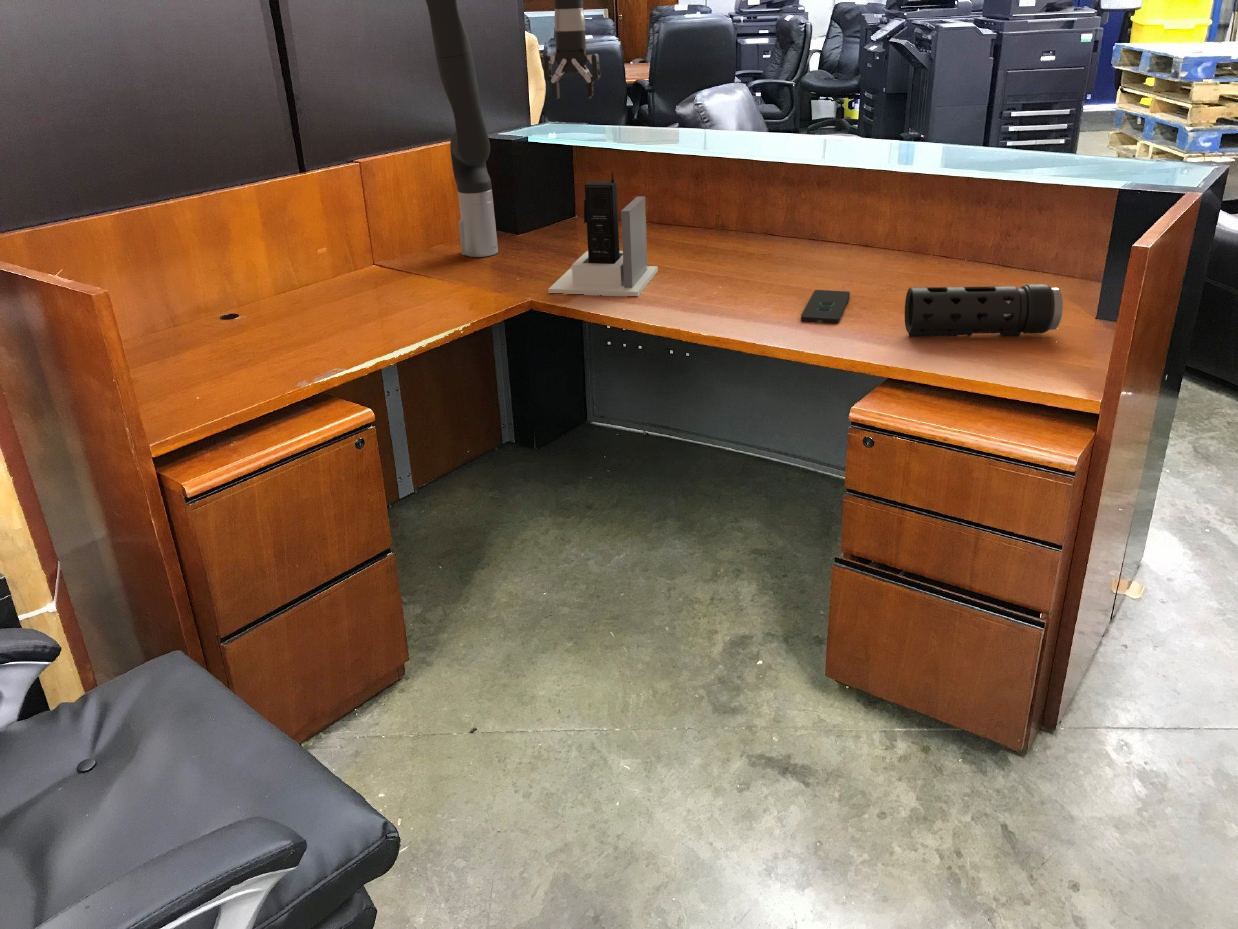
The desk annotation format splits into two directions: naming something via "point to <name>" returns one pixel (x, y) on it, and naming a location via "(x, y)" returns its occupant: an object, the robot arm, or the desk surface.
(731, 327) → the desk surface
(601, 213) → the portable radio
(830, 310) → the smart home device
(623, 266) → the docking stand
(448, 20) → the robot arm
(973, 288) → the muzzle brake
